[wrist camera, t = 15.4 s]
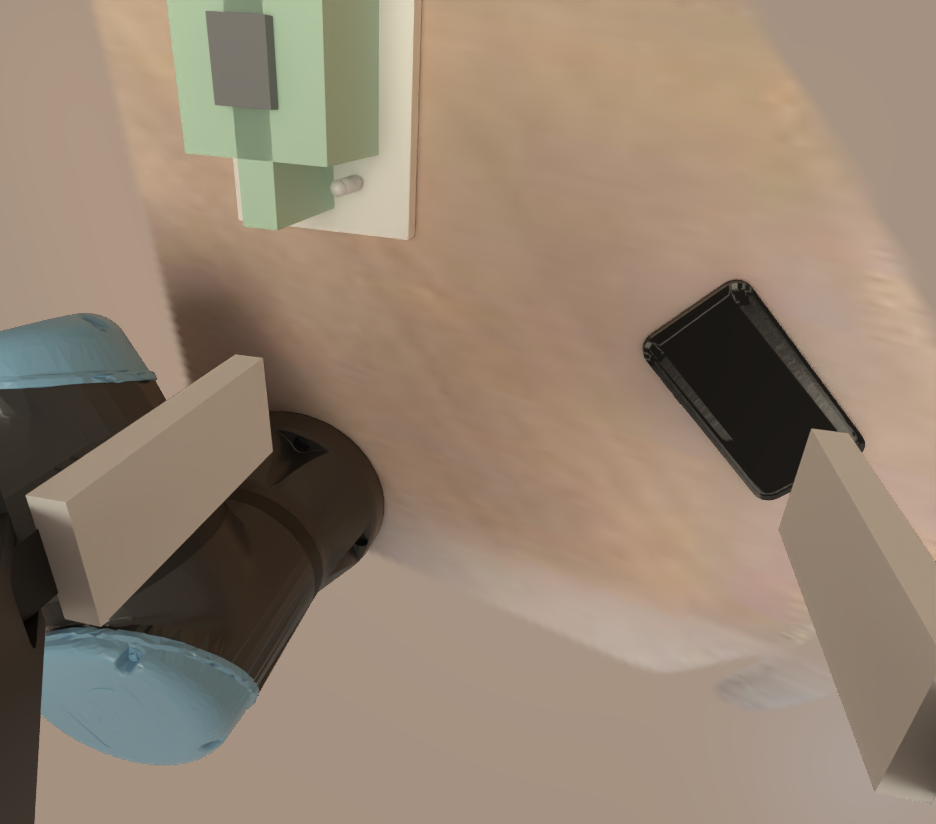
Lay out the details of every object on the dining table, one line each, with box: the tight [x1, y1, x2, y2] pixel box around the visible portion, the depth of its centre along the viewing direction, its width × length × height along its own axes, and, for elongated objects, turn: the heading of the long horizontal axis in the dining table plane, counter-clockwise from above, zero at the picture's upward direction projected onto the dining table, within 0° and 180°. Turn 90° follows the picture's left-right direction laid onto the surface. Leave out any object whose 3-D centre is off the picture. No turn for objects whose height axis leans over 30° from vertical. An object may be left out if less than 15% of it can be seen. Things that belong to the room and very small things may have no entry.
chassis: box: [233, 0, 422, 240], centre depth 38 cm, size 19×12×5 cm, turn 176°
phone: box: [643, 280, 865, 500], centre depth 43 cm, size 8×1×15 cm
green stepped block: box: [166, 0, 379, 230], centre depth 35 cm, size 16×8×9 cm, turn 176°
